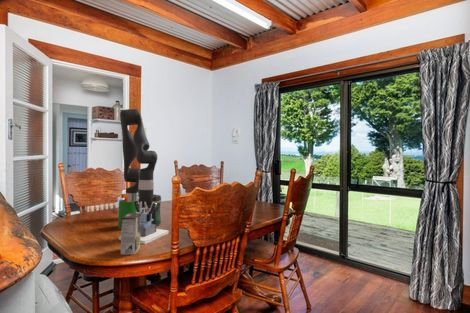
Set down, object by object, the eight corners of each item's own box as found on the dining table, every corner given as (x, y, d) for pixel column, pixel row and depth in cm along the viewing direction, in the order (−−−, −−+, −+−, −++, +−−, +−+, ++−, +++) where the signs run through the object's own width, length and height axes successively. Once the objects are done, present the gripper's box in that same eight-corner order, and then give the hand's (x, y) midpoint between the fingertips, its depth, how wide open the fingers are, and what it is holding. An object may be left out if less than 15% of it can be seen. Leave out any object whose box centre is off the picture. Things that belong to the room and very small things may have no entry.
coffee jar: (162, 224, 169) (163, 194, 169) (153, 227, 162) (154, 196, 162) (151, 222, 173) (151, 192, 173) (141, 224, 166) (142, 194, 166)
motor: (138, 226, 162) (139, 193, 162) (128, 230, 154) (129, 195, 153) (124, 224, 165) (125, 191, 165) (113, 228, 157) (114, 193, 157)
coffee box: (126, 247, 127) (127, 212, 127) (140, 247, 127) (141, 213, 127) (119, 254, 118) (120, 217, 118) (135, 254, 118) (136, 217, 118)
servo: (148, 227, 149) (148, 211, 149) (153, 227, 148) (153, 212, 148) (135, 231, 140) (136, 215, 140) (141, 232, 139) (141, 215, 139)
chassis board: (144, 229, 156) (144, 220, 156) (168, 233, 151) (168, 223, 151) (118, 239, 137) (119, 228, 137) (145, 244, 132) (145, 232, 132)
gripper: (161, 188, 145) (160, 220, 145) (139, 186, 150) (138, 217, 150) (152, 190, 138) (151, 224, 138) (130, 188, 143) (129, 220, 143)
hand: (145, 220), depth 144 cm, fingers closed on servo, 3 cm apart
